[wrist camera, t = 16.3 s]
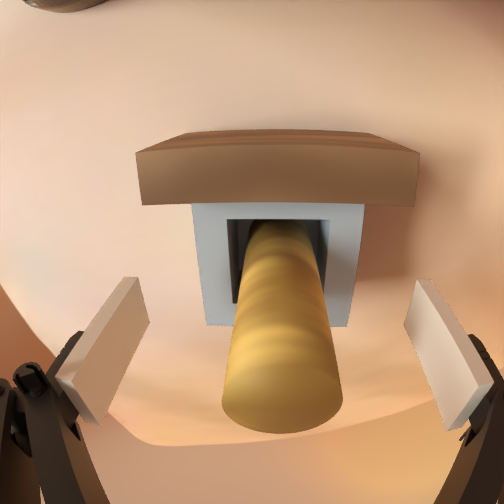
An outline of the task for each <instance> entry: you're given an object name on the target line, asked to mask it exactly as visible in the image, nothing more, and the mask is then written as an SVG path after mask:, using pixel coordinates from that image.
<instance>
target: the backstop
mask: <svg viewBox="0 0 504 504" xmlns="http://www.w3.org/2000/svg"><path fill="white" fill-rule="evenodd" d="M419 156H420V153H418V152H416V151H413V150H411V149H408V148H406V147H403V146H401V145H398V144H396V143H393V142H391V141H388V140H385V139H383V138H380V137H377V136H374V135H372V134H369V133H358V132H343V131H324V130H282V129H271V130H230V131H210V132H196V133H185V134H182V135H180V136H177V137H174V138H171V139H169V140H166V141H163V142H161V143H158V144H156V145H153V146H151V147H148V148H146V149H143V150H141V151H138V152H136V162H137V170H138V178H139V186H140V193H141V200H142V205H162V204H191V203H246V202H288V203H342V204H371V205H393V206H412V207H414V201H415V193H416V185H417V177H418V167H419Z"/></svg>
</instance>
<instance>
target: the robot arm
mask: <svg viewBox="0 0 504 504" xmlns="http://www.w3.org/2000/svg"><path fill="white" fill-rule="evenodd" d="M22 1H24V2H25V3H26V4H28V5H30V6H32V7H35V8H39V9H43V10H47V11H52V12H59V13H64V12H73V11H78V10H82V9H85V8H88V7H91V6H94V5H96V4H99V3H101V2H103V1H105V0H22ZM149 323H150V322H149V318H148V314H147V311H146V307H145V303H144V299H143V295H142V291H141V287H140V283H139V279H138V277H124V278H123V279H122V280H121V282H120V283H119V284H118V286H117V287H116V288H115V290H114V291H113V292H112V294H111V295H110V296H109V298H108V299H107V301H106V302H105V303H104V305H103V306H102V307H101V309H100V310H99V312H98V313H97V314H96V316H95V317H94V319H93V320H92V322H91V323H90V324H89V326H88V327H87V329H86V330H85V332H84V331H78V332H77V333H76V334H74V335H73V336H72V337H71V338H70V339H69V340H68V342H67V343H66V345H65V347H64V348H63V349H62V350H61V352H60V354H59V355H58V356H57V358H56V359H55V361H54V362H53V364H52V365H51V367H50V368H49V370H48V371H47V373H46V374H44V372H43V370H42V369H41V367H40V365H38V364H37V363H33V362H29V363H25V364H23V365H21V366H20V367H19V368H18V369H17V370H16V371H15V373H14V374H13V381H14V382H15V384H16V385H17V387H12V386H11V385H10V383H9V382H8V381H7V380H6V379H2V378H0V504H41V498H40V487H41V490H42V494H43V497H44V501H45V504H110V502H109V500H108V498H107V496H106V494H105V492H104V490H103V487H102V485H101V483H100V480H99V478H98V476H97V473H96V471H95V468H94V466H93V463H92V461H91V458H90V455H89V453H88V450H87V447H86V444H85V442H84V439H83V436H82V433H81V430H80V427H79V424H78V422H77V421H76V418H77V416H78V414H80V416H81V417H82V418H83V420H84V421H85V422H88V423H91V424H94V425H98V426H101V424H102V422H103V420H104V417H105V415H106V413H107V411H108V408H109V406H110V404H111V402H112V400H113V397H114V395H115V393H116V391H117V389H118V386H119V384H120V382H121V380H122V378H123V376H124V374H125V372H126V370H127V367H128V365H129V363H130V361H131V359H132V357H133V355H134V353H135V351H136V349H137V347H138V345H139V343H140V341H141V339H142V337H143V335H144V333H145V331H146V329H147V327H148V325H149ZM404 327H405V329H406V331H407V333H408V335H409V338H410V340H411V342H412V344H413V347H414V349H415V351H416V354H417V356H418V358H419V361H420V363H421V365H422V368H423V370H424V373H425V375H426V378H427V380H428V383H429V385H430V388H431V390H432V393H433V396H434V398H435V401H436V404H437V406H438V409H439V412H440V415H441V418H442V420H443V423H444V426H445V429H446V431H450V430H453V429H457V428H461V427H462V426H463V425H464V423H465V422H466V421H467V420H468V419H469V421H470V423H471V426H470V427H469V428H468V429H467V431H466V432H465V433H464V434H463V435H462V436H461V438H460V439H459V440H460V441H461V440H462V439H463V438H464V437H465V438H464V440H463V443H462V445H461V448H460V450H459V453H458V455H457V457H456V460H455V462H454V464H453V466H452V469H451V471H450V473H449V475H448V477H447V479H446V481H445V483H444V485H443V487H442V489H441V491H440V493H439V495H438V496H437V498H436V500H435V502H434V504H496V503H497V500H498V504H504V380H503V378H502V376H501V374H500V372H499V371H498V369H497V367H496V365H495V364H494V362H493V360H492V359H490V355H489V353H488V352H486V348H485V347H484V345H483V344H482V342H481V341H480V340H479V339H478V338H477V337H476V336H474V335H473V334H470V335H467V333H466V332H465V330H464V329H463V327H462V325H461V324H460V322H459V321H458V319H457V318H456V316H455V315H454V313H453V312H452V310H451V308H450V307H449V305H448V304H447V302H446V301H445V300H444V298H443V297H442V295H441V294H440V292H439V291H438V289H437V288H436V287H435V285H434V284H433V282H432V281H431V279H417V281H416V285H415V288H414V292H413V296H412V299H411V303H410V306H409V310H408V313H407V316H406V320H405V323H404ZM11 427H12V428H11ZM498 497H499V498H498Z"/></svg>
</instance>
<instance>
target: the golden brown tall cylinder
mask: <svg viewBox="0 0 504 504" xmlns="http://www.w3.org/2000/svg"><path fill="white" fill-rule="evenodd" d="M342 401H343V396H342V390H341V384H340V378H339V372H338V366H337V361H336V355H335V350H334V345H333V340H332V334H331V329H330V324H329V319H328V314H327V310H326V305H325V300H324V295H323V291H322V286H321V282H320V277H319V273H318V268H317V264H316V260H315V255H314V251H313V247H312V243H311V238H310V234H309V230H308V227H307V224H306V222H305V221H304V219H254V221H253V222H252V224H251V226H250V229H249V235H248V241H247V247H246V253H245V259H244V265H243V272H242V278H241V284H240V290H239V296H238V302H237V308H236V314H235V321H234V327H233V333H232V339H231V346H230V352H229V358H228V364H227V371H226V377H225V383H224V390H223V396H222V406H223V409H224V411H225V413H226V414H227V415H228V416H229V417H230V418H231V419H232V420H233V421H235V422H236V423H238V424H240V425H241V426H244V427H246V428H249V429H252V430H255V431H259V432H265V433H275V434H285V433H295V432H301V431H305V430H309V429H312V428H315V427H317V426H319V425H321V424H323V423H325V422H327V421H328V420H330V419H331V418H332V417H333V416H334V415H335V414H336V413H337V412H338V411H339V409H340V407H341V405H342Z"/></svg>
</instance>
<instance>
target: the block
mask: <svg viewBox="0 0 504 504" xmlns="http://www.w3.org/2000/svg"><path fill="white" fill-rule="evenodd" d="M191 204H192V213H193V223H194V232H195V241H196V249H197V258H198V266H199V274H200V281H201V289H202V296H203V303H204V310H205V317H206V324H207V325H215V326H234V321H235V314H236V308H237V302H238V296H239V290H240V284H241V278H242V272H243V265H244V259H245V253H246V247H247V241H248V235H249V229H250V226H251V224H252V222H253V221H254V219H304V221H305V222H306V224H307V227H308V230H309V234H310V238H311V243H312V247H313V251H314V255H315V260H316V264H317V268H318V273H319V277H320V282H321V286H322V291H323V295H324V300H325V305H326V310H327V314H328V319H329V324H330V327H347V323H348V318H349V313H350V308H351V302H352V296H353V290H354V284H355V278H356V271H357V265H358V258H359V251H360V243H361V235H362V226H363V217H364V208H365V204H342V203H288V202H246V203H191Z"/></svg>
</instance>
